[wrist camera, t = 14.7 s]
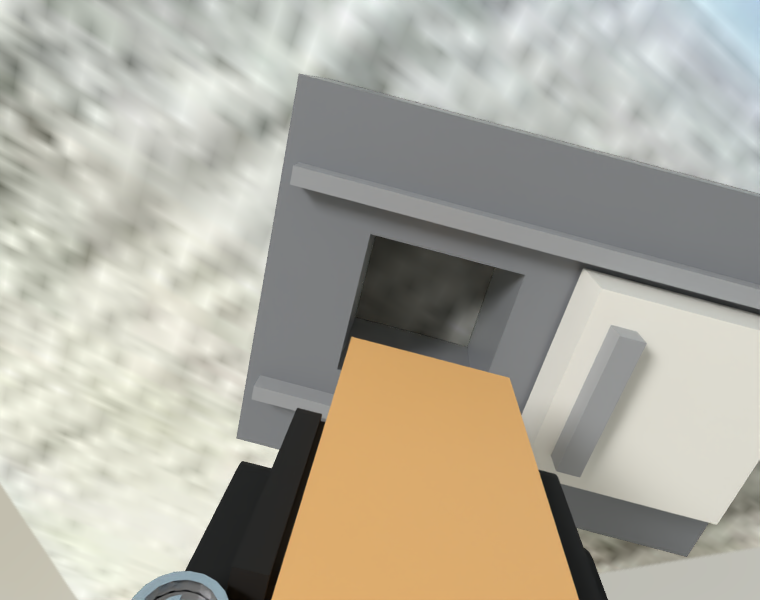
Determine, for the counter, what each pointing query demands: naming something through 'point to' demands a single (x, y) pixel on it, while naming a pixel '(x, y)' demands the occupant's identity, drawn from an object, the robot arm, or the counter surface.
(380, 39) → the counter surface
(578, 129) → the counter surface
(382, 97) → the socket
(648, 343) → the shutter
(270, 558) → the robot arm
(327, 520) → the plug
